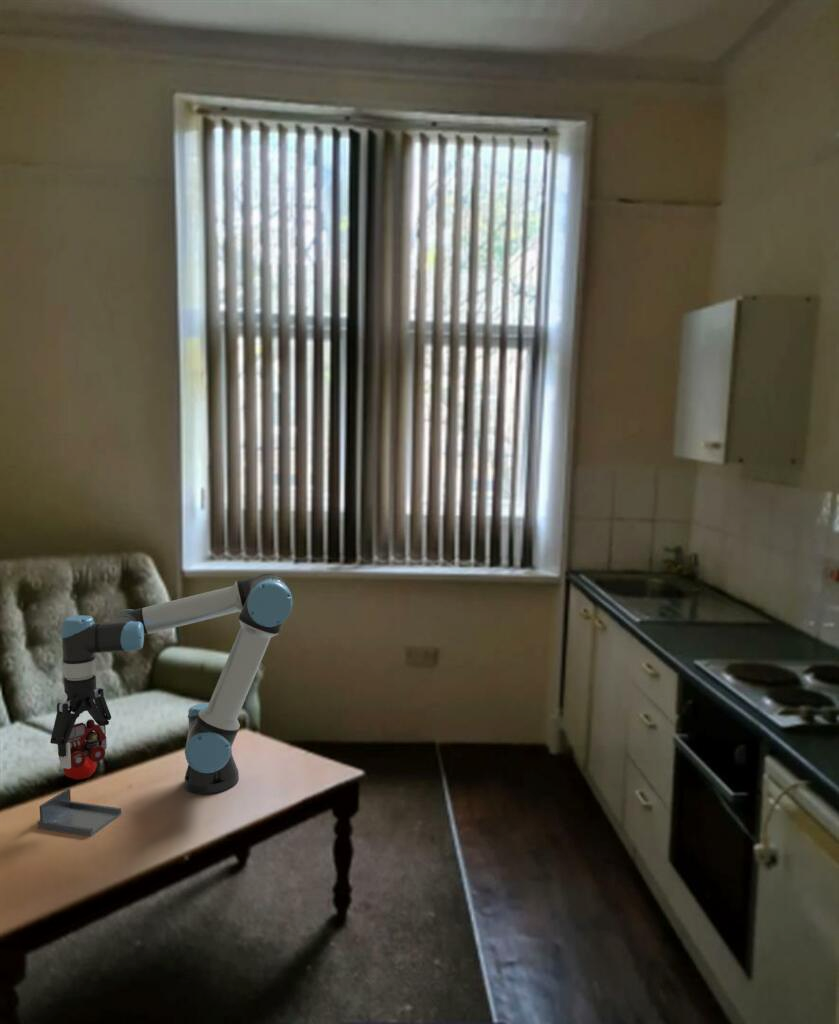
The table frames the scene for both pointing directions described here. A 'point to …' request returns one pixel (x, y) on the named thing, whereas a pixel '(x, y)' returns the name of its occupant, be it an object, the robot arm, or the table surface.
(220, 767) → the robot arm
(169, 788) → the table surface
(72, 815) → the grey l-shaped tray
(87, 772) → the tomato
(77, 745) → the toy fire truck
